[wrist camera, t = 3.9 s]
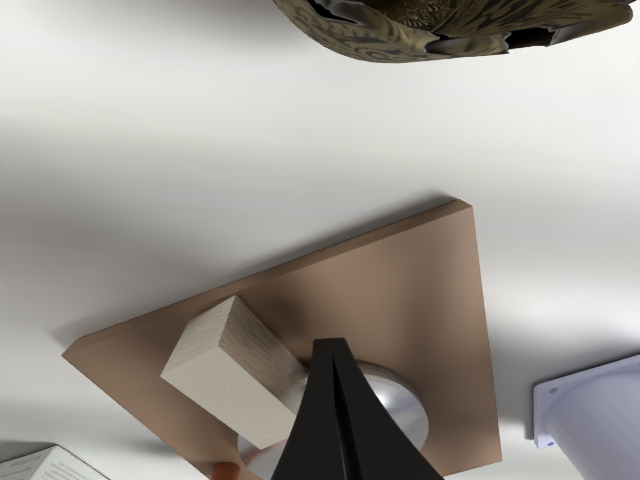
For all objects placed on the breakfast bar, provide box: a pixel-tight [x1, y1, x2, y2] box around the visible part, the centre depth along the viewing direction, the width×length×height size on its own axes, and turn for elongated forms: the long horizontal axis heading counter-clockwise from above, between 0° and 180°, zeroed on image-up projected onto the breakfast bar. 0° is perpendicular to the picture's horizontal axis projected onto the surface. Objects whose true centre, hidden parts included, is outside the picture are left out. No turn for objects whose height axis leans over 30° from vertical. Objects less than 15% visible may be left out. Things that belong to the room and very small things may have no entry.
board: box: [61, 199, 502, 480], centre depth 15 cm, size 20×22×5 cm
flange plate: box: [160, 295, 429, 480], centre depth 14 cm, size 16×11×3 cm, turn 31°
